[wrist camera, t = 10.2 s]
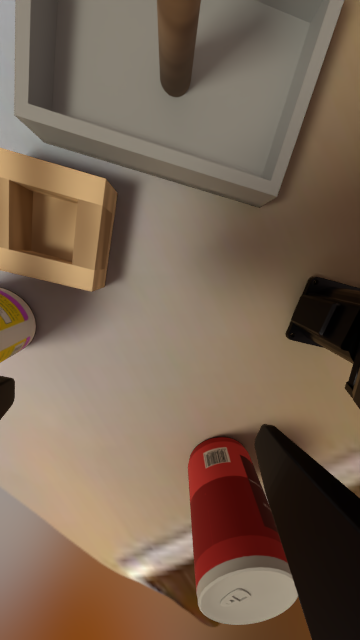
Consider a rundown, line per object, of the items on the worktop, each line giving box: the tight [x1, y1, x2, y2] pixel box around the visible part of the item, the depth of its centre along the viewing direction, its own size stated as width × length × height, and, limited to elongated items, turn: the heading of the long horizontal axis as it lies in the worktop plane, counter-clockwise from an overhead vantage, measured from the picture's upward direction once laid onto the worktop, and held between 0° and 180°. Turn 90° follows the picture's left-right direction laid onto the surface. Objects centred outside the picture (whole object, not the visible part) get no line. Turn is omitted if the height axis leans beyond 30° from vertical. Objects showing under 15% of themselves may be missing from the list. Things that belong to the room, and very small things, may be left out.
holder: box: [0, 148, 118, 292], centre depth 16 cm, size 8×8×3 cm
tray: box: [14, 0, 344, 208], centre depth 13 cm, size 18×12×3 cm, turn 76°
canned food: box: [188, 437, 298, 625], centre depth 20 cm, size 8×8×11 cm
